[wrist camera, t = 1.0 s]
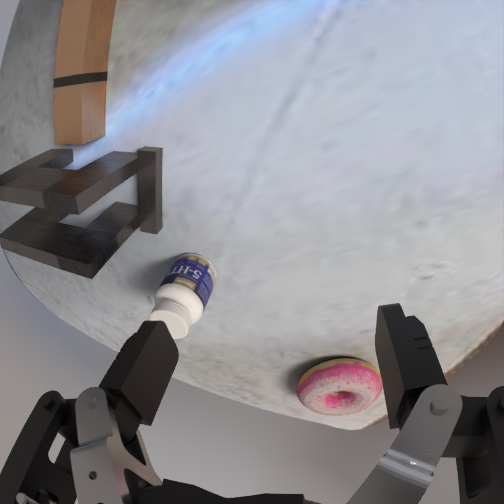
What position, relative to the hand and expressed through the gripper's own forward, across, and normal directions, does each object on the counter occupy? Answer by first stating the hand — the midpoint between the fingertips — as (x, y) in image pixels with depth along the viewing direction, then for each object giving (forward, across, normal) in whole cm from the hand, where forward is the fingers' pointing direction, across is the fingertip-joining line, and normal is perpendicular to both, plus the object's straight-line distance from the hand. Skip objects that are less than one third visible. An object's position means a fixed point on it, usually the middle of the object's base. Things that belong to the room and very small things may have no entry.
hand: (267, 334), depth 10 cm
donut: (+21, -4, +31) cm, 38 cm away
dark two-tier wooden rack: (+19, +21, -5) cm, 28 cm away
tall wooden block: (+18, +16, -19) cm, 31 cm away
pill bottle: (+20, +12, +8) cm, 25 cm away
